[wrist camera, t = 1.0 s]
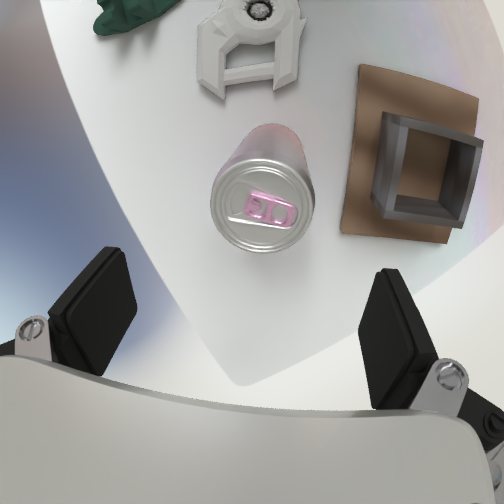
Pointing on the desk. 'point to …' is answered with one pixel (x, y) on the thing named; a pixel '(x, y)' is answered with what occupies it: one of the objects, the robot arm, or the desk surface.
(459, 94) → the can dock
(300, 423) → the robot arm
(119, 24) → the mount
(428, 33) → the desk surface
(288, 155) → the beverage can
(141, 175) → the desk surface
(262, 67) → the grey mechanical plate
